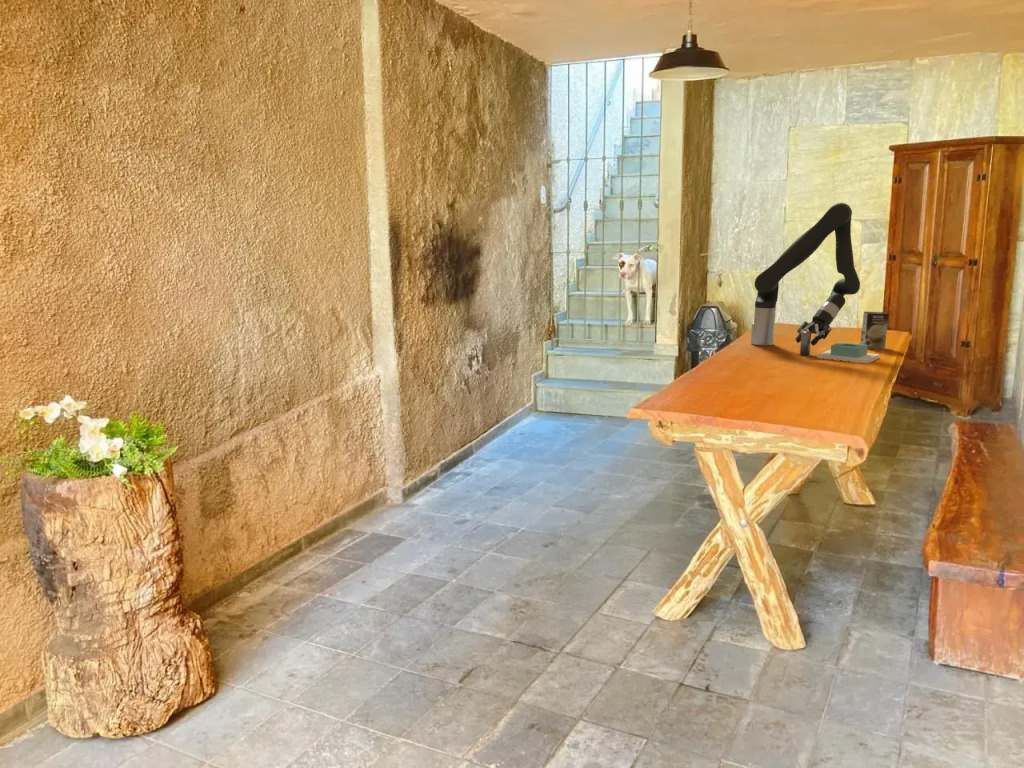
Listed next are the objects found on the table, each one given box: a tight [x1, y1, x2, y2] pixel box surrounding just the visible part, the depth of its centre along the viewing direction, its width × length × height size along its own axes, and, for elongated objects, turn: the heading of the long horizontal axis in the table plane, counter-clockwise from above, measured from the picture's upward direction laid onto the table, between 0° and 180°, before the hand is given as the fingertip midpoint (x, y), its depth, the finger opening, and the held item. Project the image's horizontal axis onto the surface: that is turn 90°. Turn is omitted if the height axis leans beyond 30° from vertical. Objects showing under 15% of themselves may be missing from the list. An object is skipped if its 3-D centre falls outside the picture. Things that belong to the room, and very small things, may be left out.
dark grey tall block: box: [799, 330, 812, 357], centre depth 345 cm, size 4×4×10 cm
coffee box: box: [859, 311, 889, 350], centre depth 360 cm, size 9×6×16 cm
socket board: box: [817, 341, 880, 365], centre depth 337 cm, size 20×16×6 cm
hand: (804, 342), depth 344 cm, fingers open, 8 cm apart
